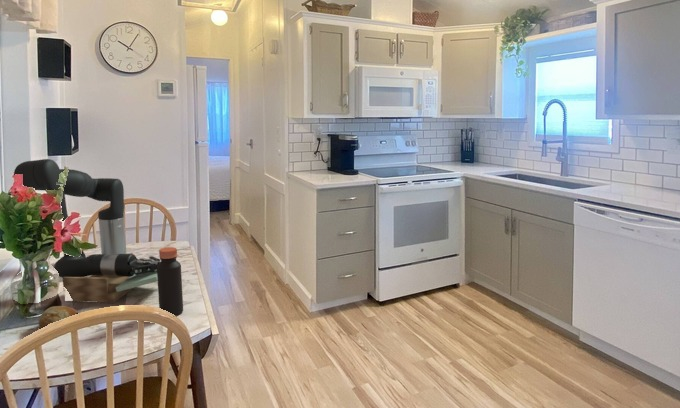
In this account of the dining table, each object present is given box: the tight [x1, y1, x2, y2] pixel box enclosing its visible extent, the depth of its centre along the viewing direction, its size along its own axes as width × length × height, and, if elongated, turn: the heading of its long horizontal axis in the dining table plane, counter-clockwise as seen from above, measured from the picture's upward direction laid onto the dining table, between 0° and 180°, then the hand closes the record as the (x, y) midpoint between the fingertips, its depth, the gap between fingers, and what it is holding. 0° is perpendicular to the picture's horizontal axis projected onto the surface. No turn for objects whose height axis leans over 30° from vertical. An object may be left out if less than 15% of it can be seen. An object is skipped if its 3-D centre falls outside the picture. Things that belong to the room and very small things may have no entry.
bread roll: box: [37, 305, 79, 329], centre depth 131 cm, size 10×10×8 cm
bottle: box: [157, 246, 184, 316], centre depth 140 cm, size 7×7×20 cm
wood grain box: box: [62, 275, 134, 303], centre depth 158 cm, size 16×19×8 cm
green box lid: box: [116, 270, 158, 292], centre depth 157 cm, size 2×16×14 cm
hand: (170, 265), depth 156 cm, fingers closed
